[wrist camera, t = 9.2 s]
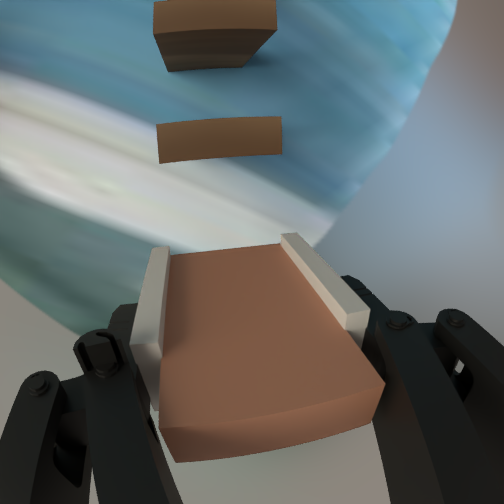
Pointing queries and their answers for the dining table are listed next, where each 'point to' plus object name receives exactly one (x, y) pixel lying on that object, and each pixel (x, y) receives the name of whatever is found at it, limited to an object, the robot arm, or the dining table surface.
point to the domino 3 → (255, 358)
